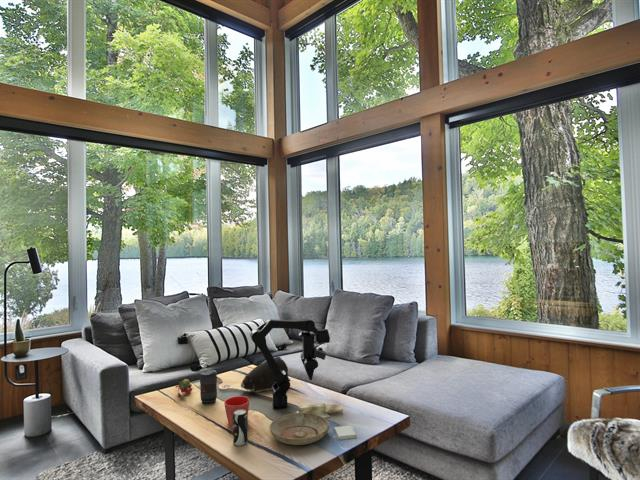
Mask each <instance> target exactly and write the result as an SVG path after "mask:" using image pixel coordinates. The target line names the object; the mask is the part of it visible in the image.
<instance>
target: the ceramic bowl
mask: <svg viewBox="0 0 640 480" xmlns="http://www.w3.org/2000/svg"><path fill="white" fill-rule="evenodd" d="M329 429H330V423H329V421H328V420H327V418H323V417H321V416H318V415H315V414H309V413H296V412H294V413H287V414H284V415H281V416H279V417H277V418H275V419H274V420H273V421H271V423H270V424H269V432H270V434H271V435H272V437H273V438H275V440H277V441H278V442H281V443H283V444H286V445H292V446H303V445H309V444H312V443H316V442H317V441H319V440H321V439H322V438H324V437H326V435H327V434H328V432H329V431H330V430H329Z"/></svg>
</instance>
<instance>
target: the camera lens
mask: <svg viewBox="0 0 640 480" xmlns="http://www.w3.org/2000/svg"><path fill="white" fill-rule="evenodd" d="M217 375H218V373H217V370H215V369H206V370H202V371H201V372H200V373H199V385H200V387H199V388H200V389H199V390H200V395H199V396H200V401H201V404H202V405H206V406H207V405H208V406H210V405H213V404H215V403H216V402H217V397H218V390H217V389H218V388H217V387H218V385H217V383H218V380H217V379H218V376H217Z"/></svg>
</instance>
